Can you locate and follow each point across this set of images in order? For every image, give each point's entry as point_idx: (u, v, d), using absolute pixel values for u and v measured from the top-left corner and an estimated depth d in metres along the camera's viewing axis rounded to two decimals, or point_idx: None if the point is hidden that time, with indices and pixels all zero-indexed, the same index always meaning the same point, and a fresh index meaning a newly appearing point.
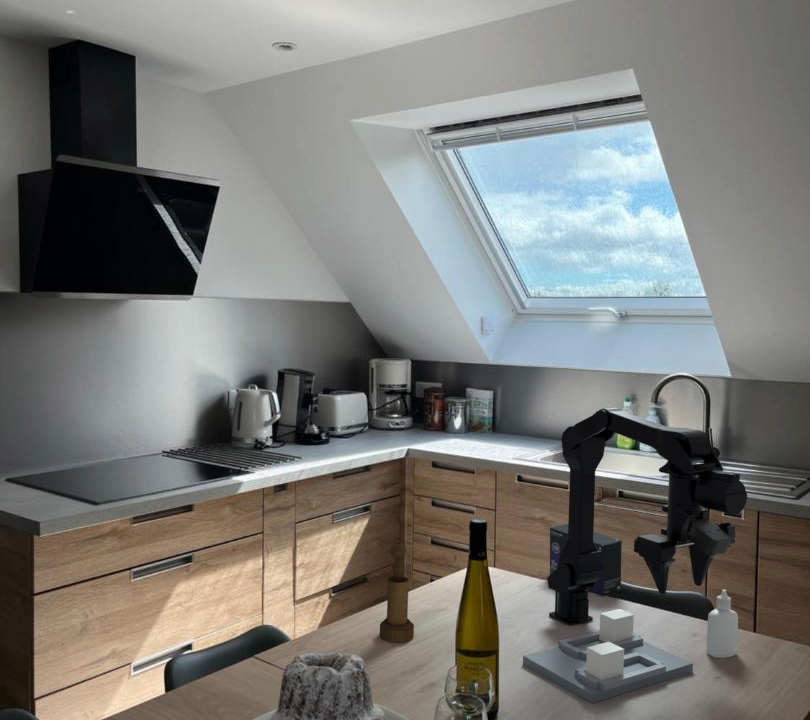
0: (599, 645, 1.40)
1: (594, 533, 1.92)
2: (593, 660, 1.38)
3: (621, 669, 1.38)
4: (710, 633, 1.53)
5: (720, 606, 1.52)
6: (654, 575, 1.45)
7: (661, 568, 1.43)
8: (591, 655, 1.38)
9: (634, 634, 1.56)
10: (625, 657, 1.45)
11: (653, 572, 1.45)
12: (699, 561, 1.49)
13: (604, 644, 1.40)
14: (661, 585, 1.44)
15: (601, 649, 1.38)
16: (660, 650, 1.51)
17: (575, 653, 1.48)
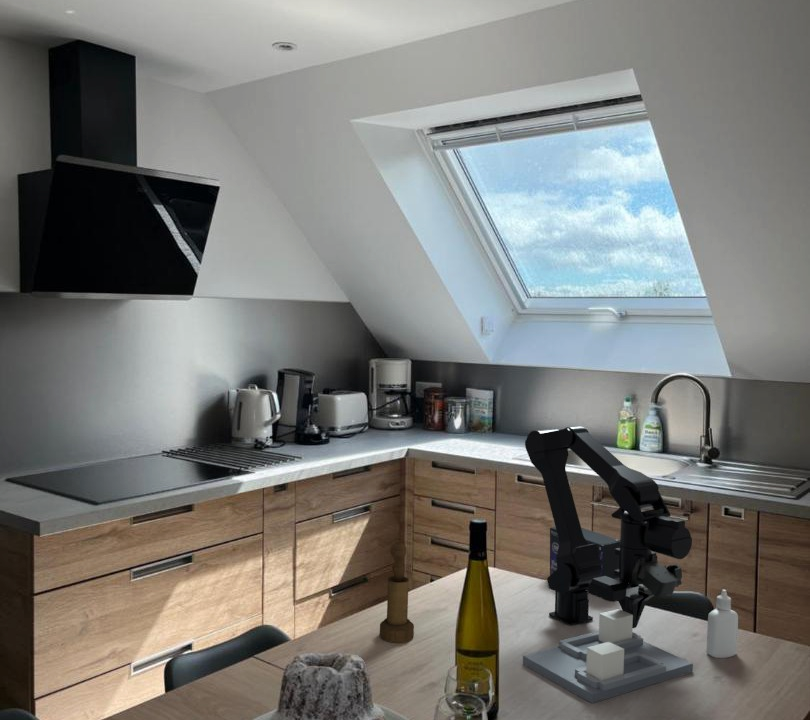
0: (599, 645, 1.40)
1: (594, 533, 1.92)
2: (593, 660, 1.38)
3: (621, 669, 1.38)
4: (710, 633, 1.53)
5: (720, 606, 1.52)
6: (624, 610, 1.57)
7: (630, 604, 1.55)
8: (591, 655, 1.38)
9: (634, 634, 1.56)
10: (625, 657, 1.45)
11: (623, 608, 1.57)
12: None
13: (604, 644, 1.40)
14: None
15: (601, 649, 1.38)
16: (660, 650, 1.51)
17: (575, 653, 1.48)
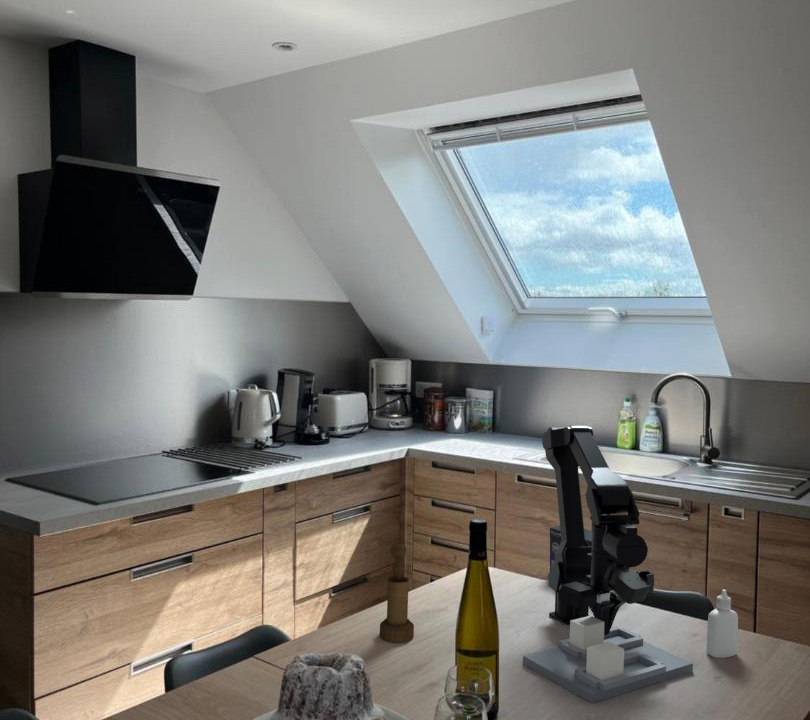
0: (599, 645, 1.40)
1: None
2: (593, 660, 1.38)
3: (621, 669, 1.38)
4: (710, 633, 1.53)
5: (720, 606, 1.52)
6: (596, 617, 1.53)
7: (602, 611, 1.51)
8: (591, 655, 1.38)
9: (634, 634, 1.56)
10: (625, 657, 1.45)
11: (595, 614, 1.53)
12: None
13: (604, 644, 1.40)
14: None
15: (601, 649, 1.38)
16: (660, 650, 1.51)
17: (575, 653, 1.48)
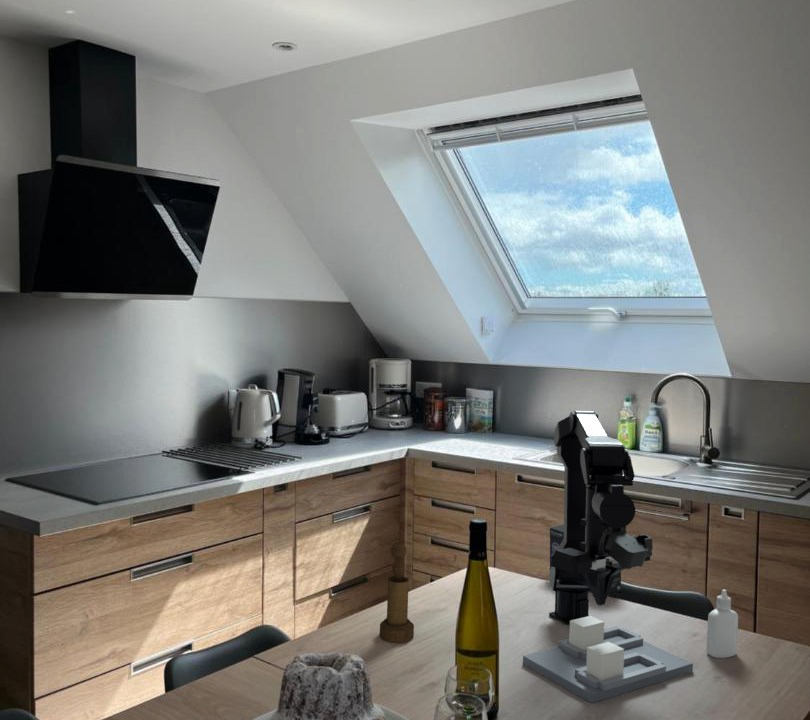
0: (599, 645, 1.40)
1: None
2: (593, 660, 1.38)
3: (621, 669, 1.38)
4: (710, 633, 1.53)
5: (720, 606, 1.52)
6: (591, 586, 1.44)
7: (597, 579, 1.43)
8: (591, 655, 1.38)
9: (634, 634, 1.56)
10: (625, 657, 1.45)
11: (590, 583, 1.44)
12: None
13: (604, 644, 1.40)
14: (598, 596, 1.44)
15: (601, 649, 1.38)
16: (660, 650, 1.51)
17: (575, 653, 1.48)
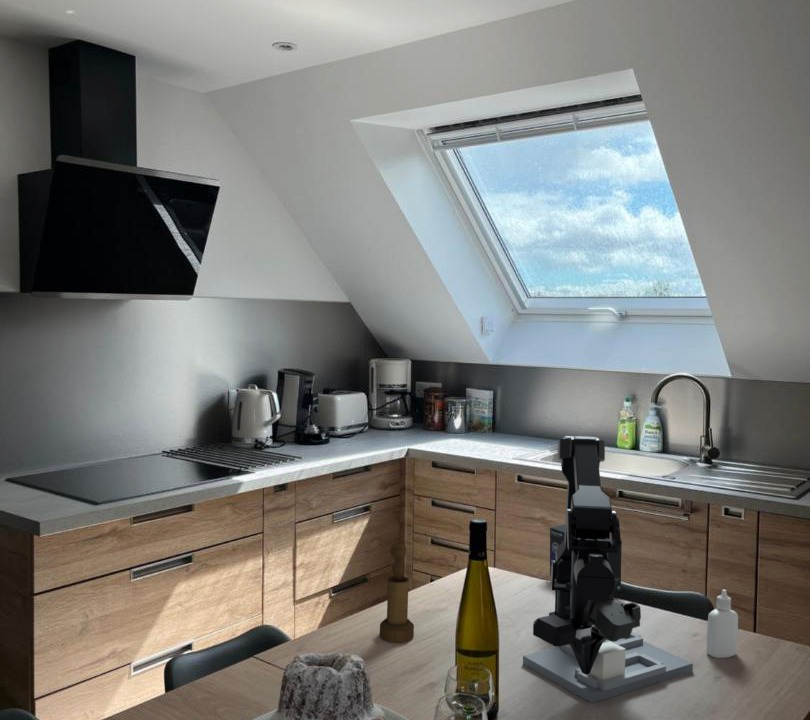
0: None
1: None
2: None
3: (622, 669, 1.39)
4: (710, 633, 1.53)
5: (720, 606, 1.52)
6: (576, 654, 1.37)
7: (582, 647, 1.35)
8: None
9: (634, 634, 1.56)
10: (625, 657, 1.45)
11: (575, 651, 1.37)
12: None
13: (605, 644, 1.40)
14: (583, 665, 1.36)
15: (602, 649, 1.38)
16: (660, 650, 1.51)
17: None
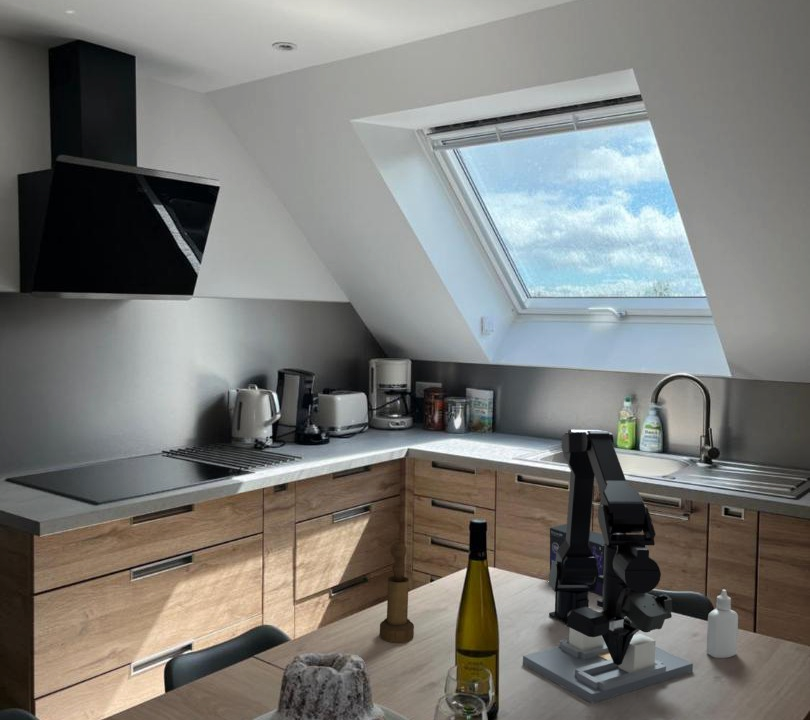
0: None
1: (594, 533, 1.92)
2: None
3: (652, 660, 1.42)
4: (710, 633, 1.53)
5: (720, 606, 1.52)
6: (608, 645, 1.41)
7: (615, 639, 1.39)
8: None
9: (634, 634, 1.56)
10: None
11: (607, 642, 1.41)
12: None
13: (636, 636, 1.44)
14: (615, 656, 1.40)
15: (633, 641, 1.42)
16: (660, 650, 1.51)
17: (575, 653, 1.48)
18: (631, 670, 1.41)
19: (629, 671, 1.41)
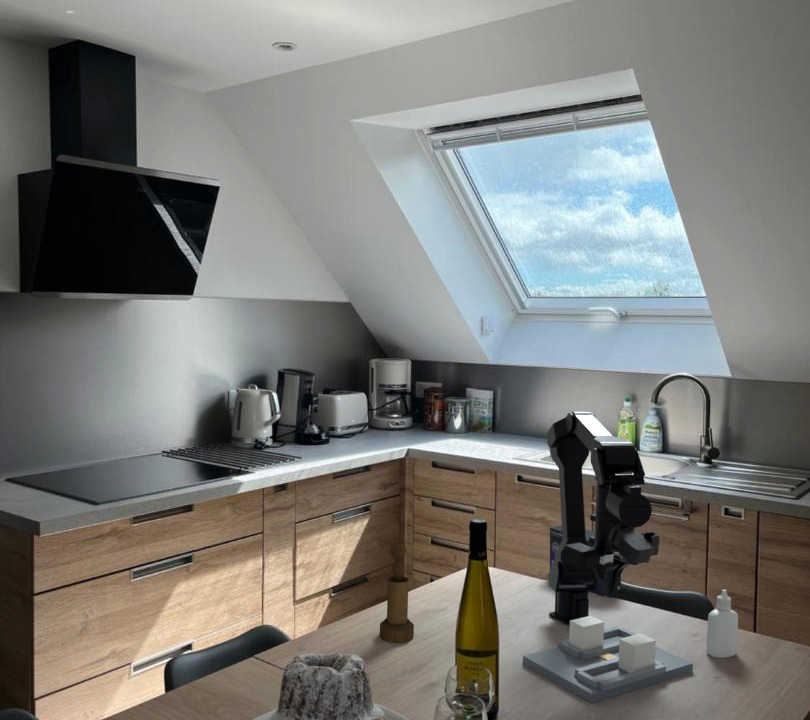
0: (631, 637, 1.44)
1: (594, 533, 1.92)
2: (626, 651, 1.42)
3: (652, 660, 1.42)
4: (710, 633, 1.53)
5: (720, 606, 1.52)
6: (599, 579, 1.50)
7: (605, 572, 1.48)
8: (624, 647, 1.42)
9: (634, 634, 1.56)
10: None
11: (598, 576, 1.50)
12: None
13: (636, 636, 1.44)
14: (606, 589, 1.49)
15: (633, 641, 1.42)
16: (660, 650, 1.51)
17: (575, 653, 1.48)
18: (631, 670, 1.41)
19: (629, 671, 1.41)
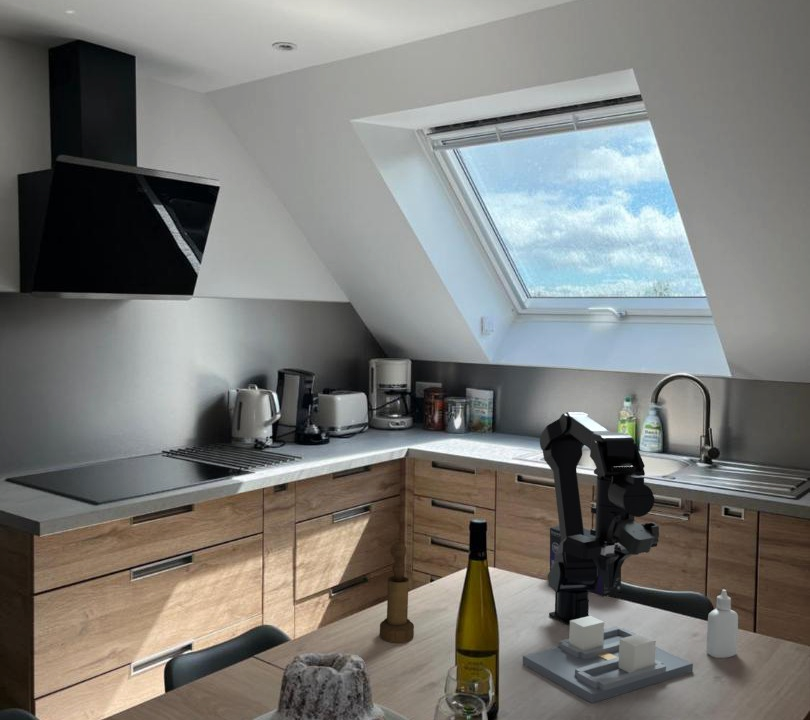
0: (631, 637, 1.44)
1: None
2: (626, 651, 1.42)
3: (652, 660, 1.42)
4: (710, 633, 1.53)
5: (720, 606, 1.52)
6: (600, 570, 1.53)
7: (606, 563, 1.51)
8: (624, 647, 1.42)
9: (634, 634, 1.56)
10: None
11: (599, 568, 1.53)
12: None
13: (636, 636, 1.44)
14: (607, 580, 1.52)
15: (633, 641, 1.42)
16: (660, 650, 1.51)
17: (575, 653, 1.48)
18: (631, 670, 1.41)
19: (629, 671, 1.41)
